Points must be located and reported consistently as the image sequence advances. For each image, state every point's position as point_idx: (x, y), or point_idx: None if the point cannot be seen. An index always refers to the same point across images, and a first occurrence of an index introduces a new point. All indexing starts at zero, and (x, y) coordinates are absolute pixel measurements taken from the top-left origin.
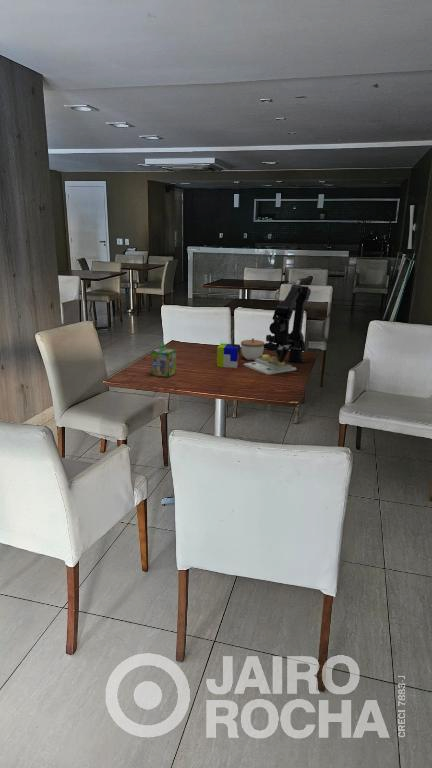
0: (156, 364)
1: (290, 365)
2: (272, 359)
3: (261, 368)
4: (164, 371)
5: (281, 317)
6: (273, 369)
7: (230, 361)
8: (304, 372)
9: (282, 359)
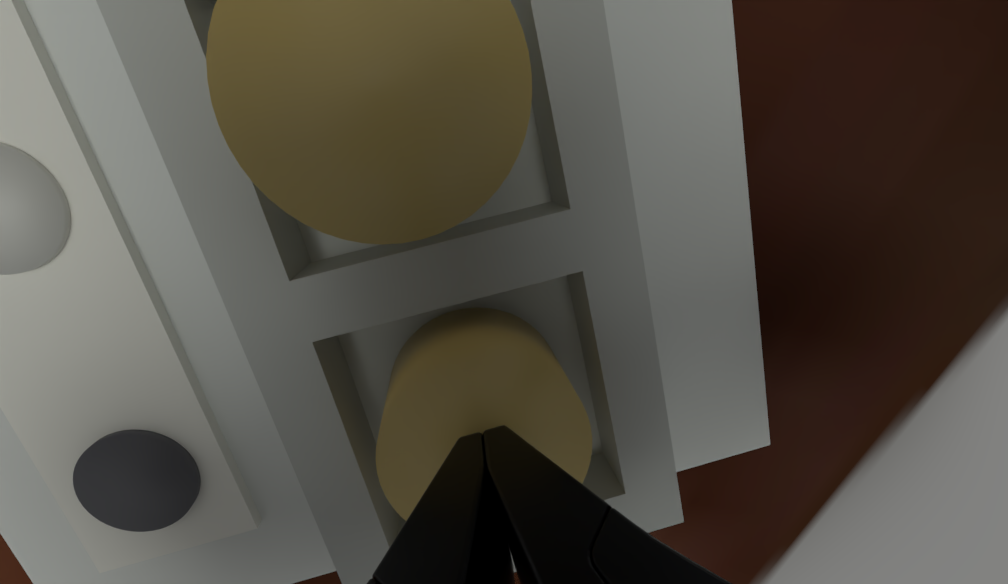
0: None
1: (667, 501)
2: (302, 214)
3: None
4: None
5: None
6: (247, 509)
7: None
8: (773, 569)
9: (517, 571)
